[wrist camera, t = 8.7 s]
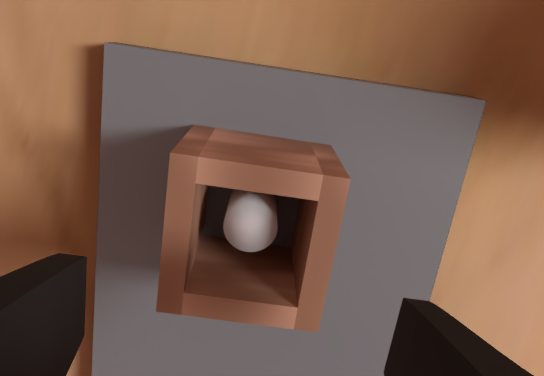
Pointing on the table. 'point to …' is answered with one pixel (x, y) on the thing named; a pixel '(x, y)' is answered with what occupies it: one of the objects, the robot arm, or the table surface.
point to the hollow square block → (239, 264)
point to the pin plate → (371, 232)
